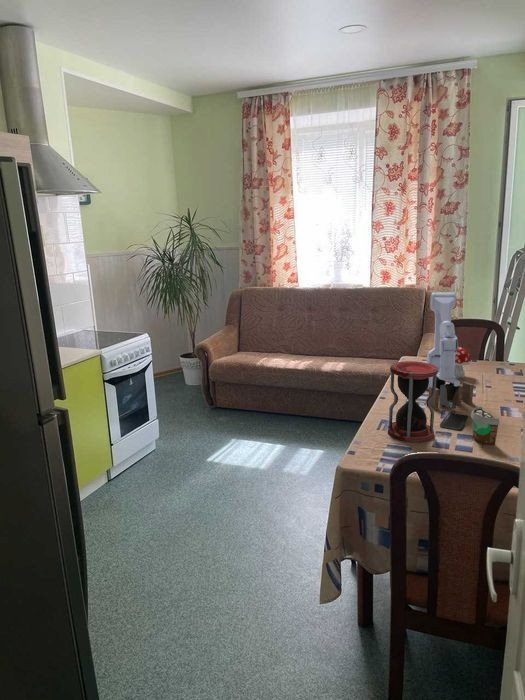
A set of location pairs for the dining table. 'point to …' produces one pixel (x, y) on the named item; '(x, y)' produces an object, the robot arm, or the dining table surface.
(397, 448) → the dining table surface
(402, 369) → the hourglass
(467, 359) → the decorative mushroom
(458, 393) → the domino
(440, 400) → the domino
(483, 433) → the food container
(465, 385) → the domino
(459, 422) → the phone
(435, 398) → the domino
